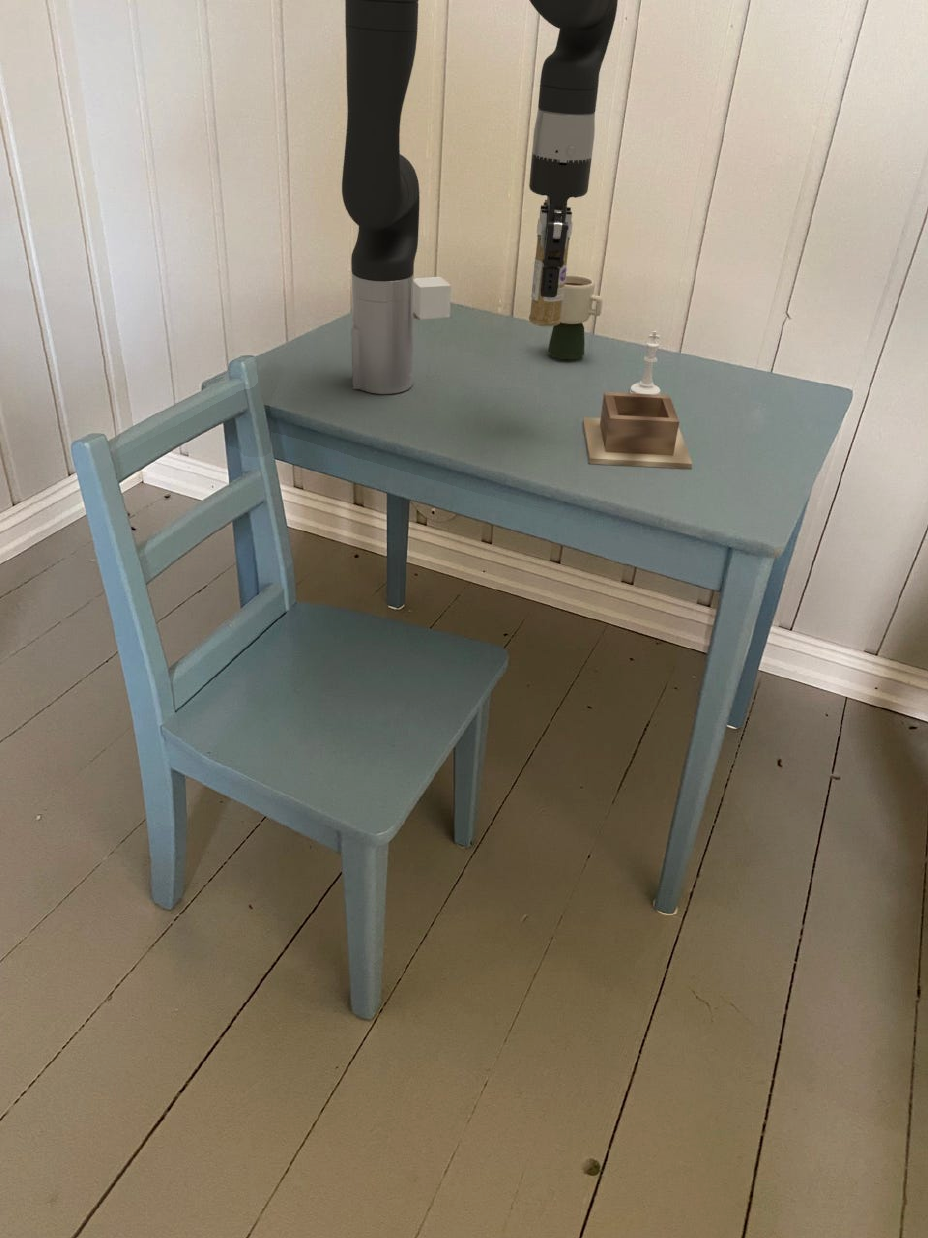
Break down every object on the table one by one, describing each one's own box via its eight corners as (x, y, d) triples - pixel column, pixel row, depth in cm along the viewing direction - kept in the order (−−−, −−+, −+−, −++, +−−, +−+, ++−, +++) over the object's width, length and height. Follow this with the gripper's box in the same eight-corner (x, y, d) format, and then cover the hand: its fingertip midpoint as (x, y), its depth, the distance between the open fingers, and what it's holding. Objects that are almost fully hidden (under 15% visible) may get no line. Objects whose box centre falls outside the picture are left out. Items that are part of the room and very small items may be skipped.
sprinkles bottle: (556, 329, 126) (568, 224, 118) (524, 324, 127) (534, 220, 119) (564, 319, 130) (576, 217, 122) (532, 314, 131) (542, 213, 123)
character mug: (602, 356, 162) (612, 280, 155) (586, 369, 157) (596, 290, 150) (545, 344, 166) (552, 269, 159) (528, 355, 161) (535, 279, 154)
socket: (589, 463, 127) (594, 424, 124) (582, 422, 139) (587, 384, 136) (691, 468, 127) (699, 429, 124) (675, 426, 139) (682, 389, 135)
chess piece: (659, 400, 147) (670, 338, 141) (628, 396, 148) (638, 334, 142) (660, 389, 151) (671, 328, 145) (630, 385, 152) (639, 324, 146)
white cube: (439, 308, 181) (440, 276, 178) (450, 317, 177) (451, 285, 173) (410, 310, 179) (410, 278, 176) (419, 319, 175) (420, 287, 171)
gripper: (531, 140, 122) (519, 274, 132) (533, 159, 110) (520, 305, 120) (588, 143, 122) (572, 277, 132) (596, 164, 110) (578, 308, 120)
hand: (547, 289), depth 126 cm, fingers closed on sprinkles bottle, 4 cm apart
